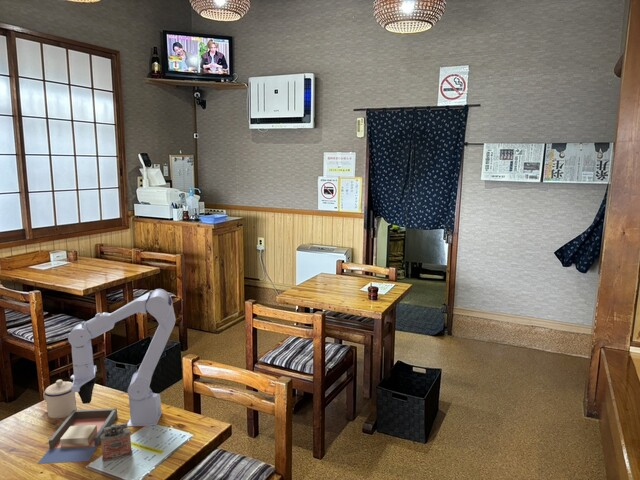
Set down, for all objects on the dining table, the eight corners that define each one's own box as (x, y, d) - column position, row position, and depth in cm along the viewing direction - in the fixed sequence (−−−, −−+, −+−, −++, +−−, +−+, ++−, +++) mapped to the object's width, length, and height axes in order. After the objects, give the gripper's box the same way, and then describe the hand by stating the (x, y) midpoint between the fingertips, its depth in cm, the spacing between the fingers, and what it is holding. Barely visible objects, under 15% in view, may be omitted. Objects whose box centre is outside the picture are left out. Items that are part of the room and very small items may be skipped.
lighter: (102, 463, 135) (99, 431, 133) (102, 457, 138) (99, 425, 136) (132, 456, 138) (130, 425, 136) (132, 450, 141) (129, 419, 139)
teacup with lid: (83, 408, 165) (80, 376, 163) (61, 421, 156) (58, 388, 154) (56, 402, 169) (53, 371, 167) (34, 415, 160) (30, 383, 158)
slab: (97, 432, 150) (96, 424, 149) (88, 445, 143) (87, 437, 142) (70, 433, 149) (70, 426, 148) (60, 446, 142) (59, 439, 142)
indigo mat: (98, 447, 142) (97, 446, 142) (88, 462, 135) (88, 461, 135) (49, 449, 141) (49, 448, 141) (37, 464, 134) (37, 463, 134)
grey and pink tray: (117, 416, 159) (116, 408, 159) (98, 447, 142) (97, 438, 142) (74, 418, 158) (73, 410, 158) (49, 449, 141) (48, 440, 141)
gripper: (79, 353, 156) (83, 391, 159) (59, 373, 142) (63, 415, 144) (101, 352, 157) (105, 391, 159) (83, 372, 142) (87, 414, 145)
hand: (86, 402), depth 152 cm, fingers closed
